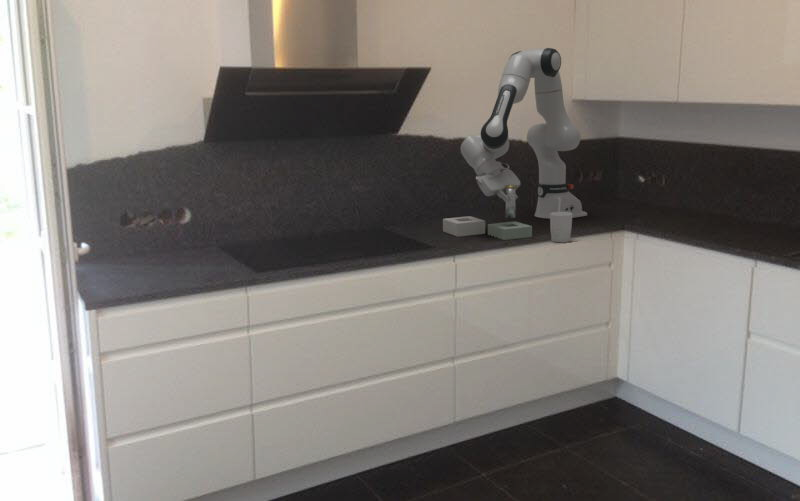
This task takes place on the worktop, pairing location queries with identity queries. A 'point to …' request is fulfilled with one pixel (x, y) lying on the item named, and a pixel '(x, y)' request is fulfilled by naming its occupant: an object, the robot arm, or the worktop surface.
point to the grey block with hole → (464, 226)
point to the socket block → (509, 230)
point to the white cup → (560, 226)
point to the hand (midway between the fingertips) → (512, 199)
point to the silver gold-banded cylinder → (510, 201)
